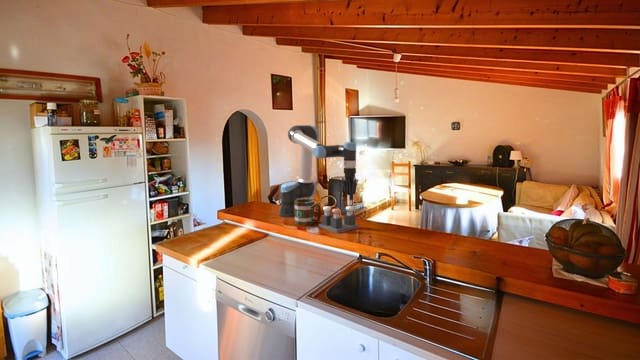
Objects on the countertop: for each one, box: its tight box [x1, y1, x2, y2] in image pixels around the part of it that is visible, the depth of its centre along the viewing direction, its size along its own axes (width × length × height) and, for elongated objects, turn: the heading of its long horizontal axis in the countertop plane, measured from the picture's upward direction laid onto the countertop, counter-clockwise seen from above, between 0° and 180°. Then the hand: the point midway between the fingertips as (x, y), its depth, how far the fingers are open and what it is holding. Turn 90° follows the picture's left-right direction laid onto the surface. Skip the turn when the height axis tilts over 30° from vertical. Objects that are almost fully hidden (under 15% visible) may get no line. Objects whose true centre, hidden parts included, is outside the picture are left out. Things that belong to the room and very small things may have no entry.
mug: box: [294, 198, 321, 227], centre depth 227 cm, size 20×14×15 cm
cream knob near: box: [322, 205, 332, 216], centre depth 217 cm, size 5×5×8 cm
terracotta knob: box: [331, 208, 341, 218], centre depth 210 cm, size 5×5×8 cm
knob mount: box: [318, 213, 360, 234], centre depth 218 cm, size 18×18×8 cm
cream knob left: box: [345, 205, 355, 216], centre depth 217 cm, size 5×5×8 cm
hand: (349, 204), depth 216 cm, fingers closed
